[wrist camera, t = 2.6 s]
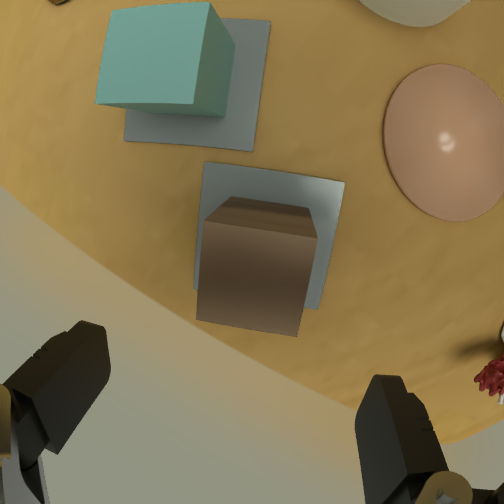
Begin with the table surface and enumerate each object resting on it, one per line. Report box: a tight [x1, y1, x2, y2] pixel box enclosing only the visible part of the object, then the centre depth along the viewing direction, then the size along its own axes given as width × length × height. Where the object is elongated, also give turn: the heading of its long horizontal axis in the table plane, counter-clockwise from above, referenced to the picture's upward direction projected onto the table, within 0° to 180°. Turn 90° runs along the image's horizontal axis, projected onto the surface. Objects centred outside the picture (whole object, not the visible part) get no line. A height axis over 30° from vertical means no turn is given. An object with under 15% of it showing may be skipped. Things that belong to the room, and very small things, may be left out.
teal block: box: [95, 2, 235, 117], centre depth 15 cm, size 5×5×7 cm
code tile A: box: [194, 162, 345, 310], centre depth 21 cm, size 9×9×1 cm
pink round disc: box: [383, 64, 504, 222], centre depth 18 cm, size 11×11×1 cm
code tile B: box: [124, 18, 271, 152], centre depth 19 cm, size 9×9×1 cm
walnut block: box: [196, 196, 318, 337], centre depth 18 cm, size 5×5×7 cm
